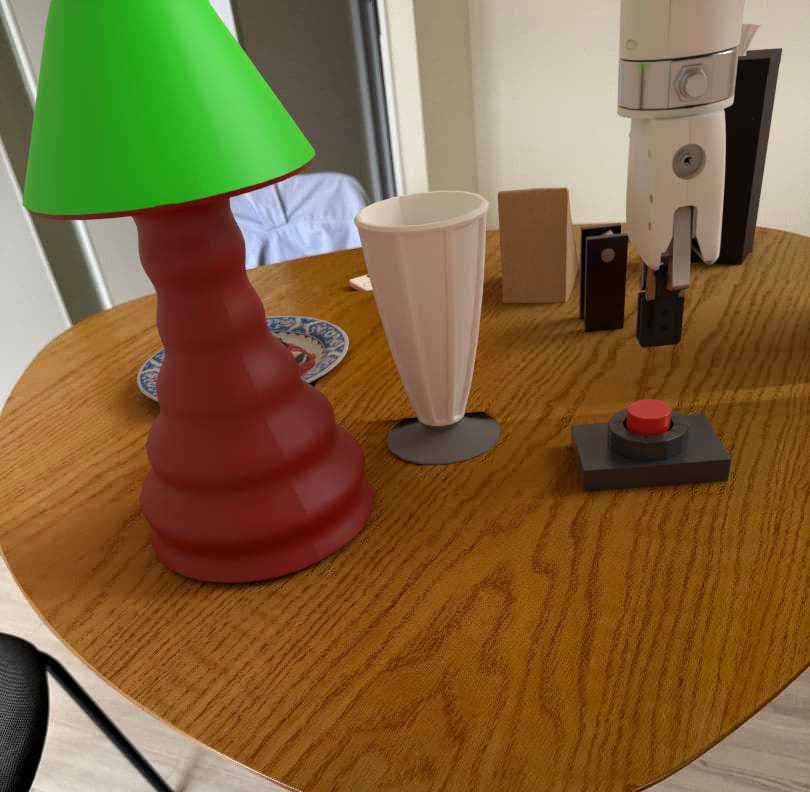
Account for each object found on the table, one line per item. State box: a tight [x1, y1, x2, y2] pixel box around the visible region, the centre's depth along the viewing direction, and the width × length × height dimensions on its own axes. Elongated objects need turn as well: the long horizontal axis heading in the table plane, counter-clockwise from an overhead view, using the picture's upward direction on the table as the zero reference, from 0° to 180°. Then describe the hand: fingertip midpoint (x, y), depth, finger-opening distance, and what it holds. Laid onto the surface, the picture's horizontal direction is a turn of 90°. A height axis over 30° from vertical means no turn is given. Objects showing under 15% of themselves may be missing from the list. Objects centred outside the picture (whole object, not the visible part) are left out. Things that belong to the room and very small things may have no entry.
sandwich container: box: [497, 187, 580, 304], centre depth 102 cm, size 9×15×15 cm, turn 163°
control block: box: [570, 407, 732, 493], centre depth 68 cm, size 12×8×4 cm, turn 88°
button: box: [626, 398, 672, 436], centre depth 67 cm, size 4×4×2 cm
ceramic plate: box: [136, 315, 350, 403], centre depth 95 cm, size 26×26×3 cm
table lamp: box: [22, 0, 375, 584], centre depth 56 cm, size 20×20×45 cm
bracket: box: [578, 222, 629, 333], centre depth 90 cm, size 12×8×12 cm, turn 88°
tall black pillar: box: [690, 23, 783, 266], centre depth 99 cm, size 8×8×28 cm
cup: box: [353, 190, 502, 466], centre depth 71 cm, size 12×12×22 cm
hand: (657, 341), depth 63 cm, fingers closed
